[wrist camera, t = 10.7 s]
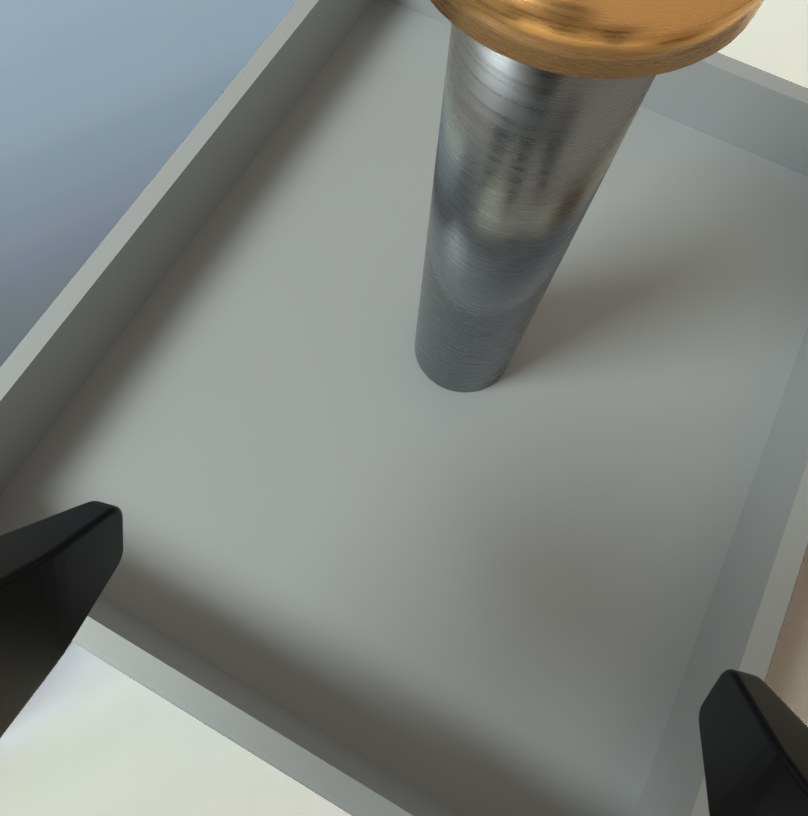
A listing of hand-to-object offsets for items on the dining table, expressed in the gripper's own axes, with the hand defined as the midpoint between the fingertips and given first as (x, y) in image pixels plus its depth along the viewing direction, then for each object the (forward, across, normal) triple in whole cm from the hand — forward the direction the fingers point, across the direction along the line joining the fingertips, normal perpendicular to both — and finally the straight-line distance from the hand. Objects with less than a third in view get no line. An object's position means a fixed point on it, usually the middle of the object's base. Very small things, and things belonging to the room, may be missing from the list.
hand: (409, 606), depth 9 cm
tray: (+12, 0, 0) cm, 12 cm away
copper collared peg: (+11, 0, 0) cm, 11 cm away
